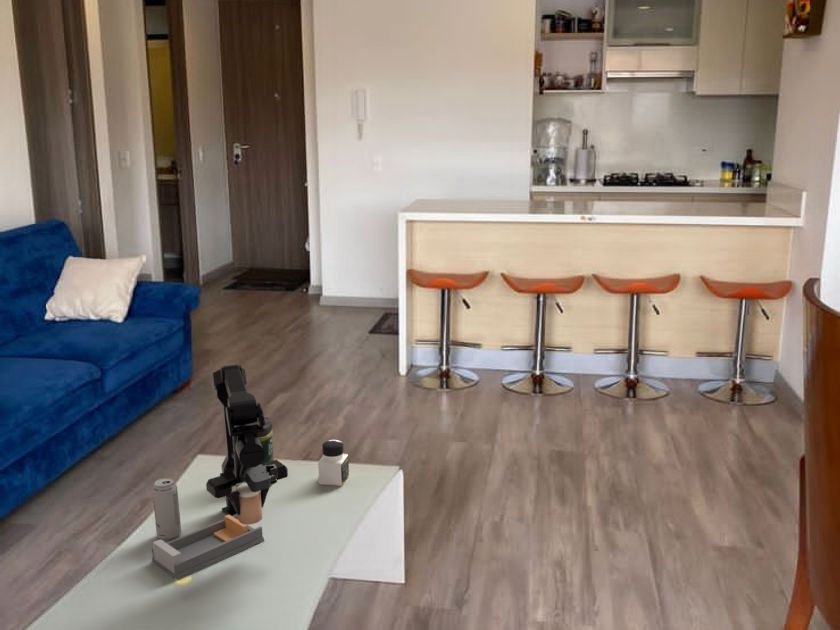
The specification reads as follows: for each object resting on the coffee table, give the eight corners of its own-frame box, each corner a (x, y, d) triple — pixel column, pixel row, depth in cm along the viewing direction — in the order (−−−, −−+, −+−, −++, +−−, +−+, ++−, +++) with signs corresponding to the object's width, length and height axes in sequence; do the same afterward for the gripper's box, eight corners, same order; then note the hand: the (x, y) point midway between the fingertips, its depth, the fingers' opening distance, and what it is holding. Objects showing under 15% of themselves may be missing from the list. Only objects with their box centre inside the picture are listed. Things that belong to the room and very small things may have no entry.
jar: (234, 517, 193) (232, 486, 191) (255, 510, 196) (253, 480, 194) (245, 526, 188) (242, 495, 186) (266, 519, 192) (264, 488, 190)
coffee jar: (269, 486, 231) (265, 426, 227) (242, 485, 232) (238, 425, 228) (278, 472, 241) (275, 414, 237) (253, 471, 242) (249, 413, 237)
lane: (152, 561, 192) (150, 540, 191) (237, 525, 209) (235, 506, 208) (178, 579, 184) (175, 558, 183) (263, 540, 201) (262, 520, 200)
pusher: (213, 535, 202) (212, 521, 201) (229, 528, 205) (228, 514, 204) (232, 546, 196) (231, 532, 195) (248, 539, 200) (247, 525, 199)
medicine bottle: (342, 486, 231) (340, 447, 228) (318, 484, 232) (317, 446, 229) (349, 476, 238) (347, 438, 235) (326, 474, 239) (324, 436, 236)
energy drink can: (158, 531, 206) (153, 478, 203) (182, 529, 207) (177, 475, 204) (155, 543, 200) (150, 488, 197) (180, 540, 202) (175, 486, 198)
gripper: (223, 473, 176) (227, 536, 180) (297, 451, 187) (300, 511, 191) (203, 456, 185) (208, 517, 189) (275, 437, 196) (278, 495, 200)
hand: (250, 510), depth 192 cm, fingers closed on jar, 6 cm apart
